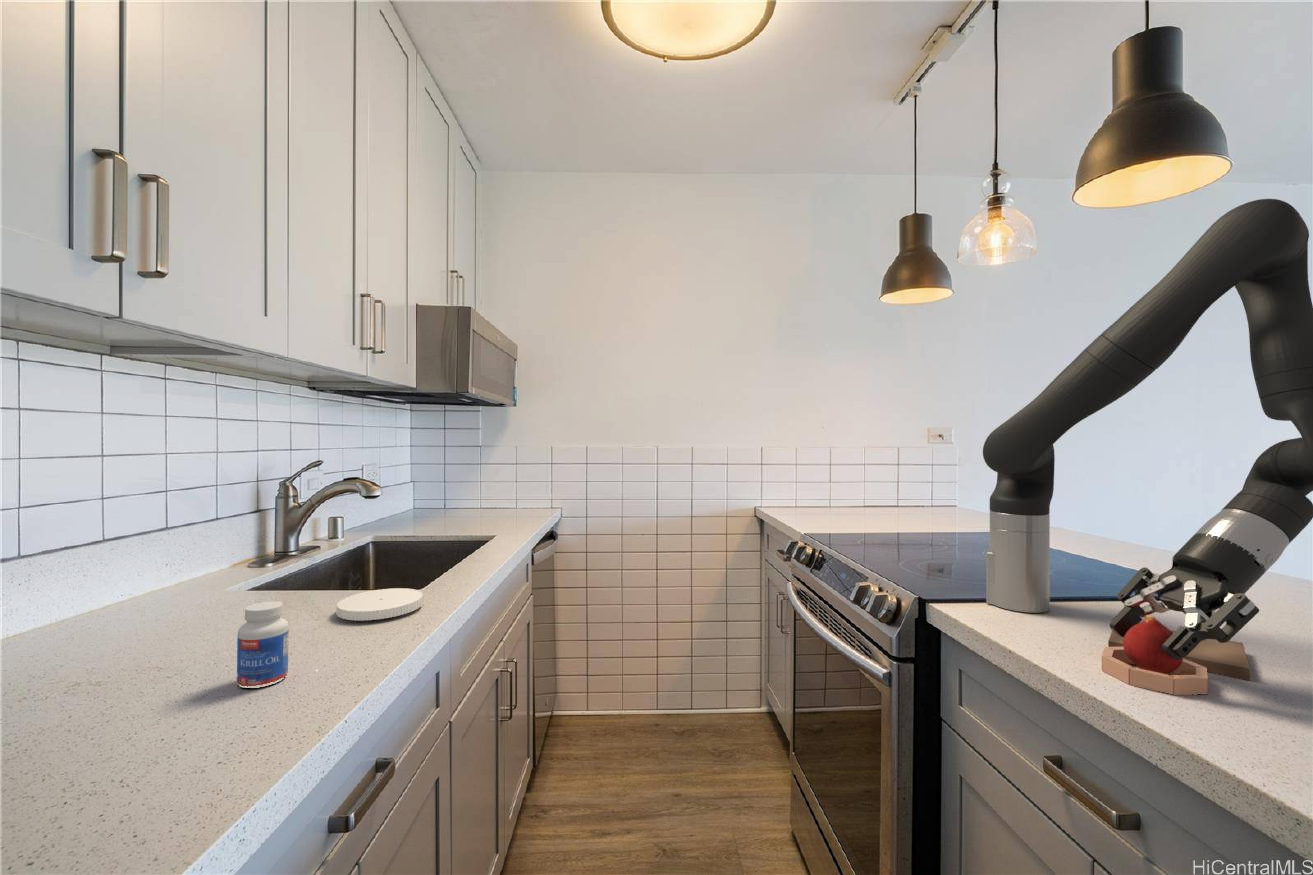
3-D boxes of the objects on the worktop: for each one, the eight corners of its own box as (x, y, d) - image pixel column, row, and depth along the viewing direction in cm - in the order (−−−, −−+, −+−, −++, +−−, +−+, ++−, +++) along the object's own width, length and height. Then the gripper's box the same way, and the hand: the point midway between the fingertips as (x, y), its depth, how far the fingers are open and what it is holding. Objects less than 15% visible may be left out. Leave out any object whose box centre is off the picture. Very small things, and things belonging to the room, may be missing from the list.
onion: (1168, 671, 73) (1168, 611, 73) (1194, 690, 68) (1194, 625, 68) (1115, 665, 75) (1115, 606, 75) (1136, 683, 70) (1136, 620, 70)
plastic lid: (415, 622, 94) (415, 608, 94) (324, 629, 91) (324, 614, 91) (429, 599, 108) (429, 586, 108) (350, 604, 105) (350, 591, 104)
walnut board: (1108, 651, 80) (1108, 640, 80) (1115, 629, 89) (1115, 620, 89) (1249, 680, 70) (1249, 668, 70) (1242, 653, 79) (1242, 643, 79)
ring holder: (1099, 677, 71) (1099, 662, 71) (1106, 655, 78) (1107, 641, 78) (1208, 703, 64) (1208, 686, 64) (1205, 676, 72) (1206, 660, 72)
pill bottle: (232, 694, 67) (232, 615, 67) (241, 677, 72) (241, 603, 72) (286, 685, 70) (285, 608, 70) (291, 669, 75) (290, 597, 75)
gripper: (1157, 523, 79) (1077, 605, 78) (1272, 542, 64) (1174, 643, 64) (1194, 559, 79) (1113, 642, 79) (1316, 587, 64) (1218, 688, 64)
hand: (1141, 642), depth 71 cm, fingers open, 7 cm apart
